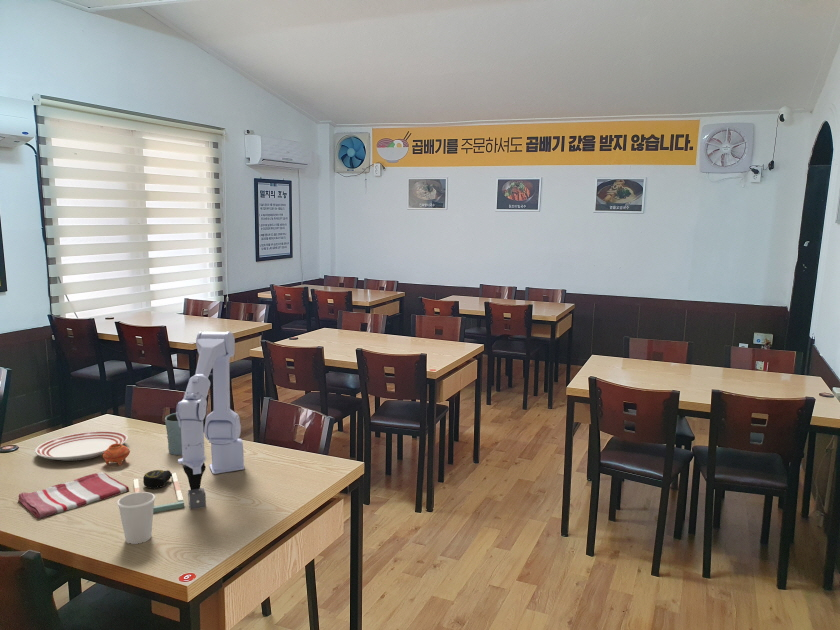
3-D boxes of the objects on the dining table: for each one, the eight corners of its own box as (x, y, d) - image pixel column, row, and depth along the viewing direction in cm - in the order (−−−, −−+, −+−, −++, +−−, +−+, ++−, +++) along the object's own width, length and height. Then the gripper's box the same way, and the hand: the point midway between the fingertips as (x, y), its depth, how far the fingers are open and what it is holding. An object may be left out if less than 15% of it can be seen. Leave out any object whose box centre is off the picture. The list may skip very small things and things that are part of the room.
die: (204, 501, 173) (203, 487, 172) (206, 507, 169) (205, 493, 168) (188, 504, 171) (187, 490, 170) (190, 510, 167) (189, 495, 167)
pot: (136, 461, 200) (130, 443, 198) (112, 473, 195) (105, 455, 193) (127, 454, 206) (121, 436, 204) (102, 466, 201) (96, 447, 199)
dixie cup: (149, 526, 158) (147, 488, 156) (162, 538, 152) (160, 499, 150) (114, 537, 152) (112, 498, 151) (126, 550, 146) (123, 509, 145)
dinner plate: (22, 452, 209) (22, 443, 209) (107, 433, 230) (106, 424, 229) (54, 473, 191) (53, 463, 191) (142, 450, 212) (142, 441, 211)
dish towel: (16, 502, 172) (15, 493, 172) (104, 477, 190) (104, 469, 189) (39, 521, 161) (38, 511, 161) (130, 493, 179) (129, 484, 178)
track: (175, 476, 189) (175, 472, 189) (184, 507, 169) (184, 502, 169) (133, 483, 184) (133, 479, 184) (137, 515, 164) (136, 511, 163)
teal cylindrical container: (187, 443, 218) (185, 410, 217) (204, 449, 212) (203, 415, 211) (160, 451, 210) (158, 417, 208) (178, 458, 204) (176, 422, 203)
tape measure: (163, 490, 180) (163, 478, 179) (139, 490, 180) (139, 478, 179) (172, 481, 187) (172, 468, 186) (149, 481, 186) (148, 468, 186)
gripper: (174, 436, 175) (176, 482, 177) (180, 453, 162) (182, 503, 164) (201, 433, 178) (203, 478, 180) (208, 449, 165) (210, 498, 167)
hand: (195, 490), depth 172 cm, fingers closed
